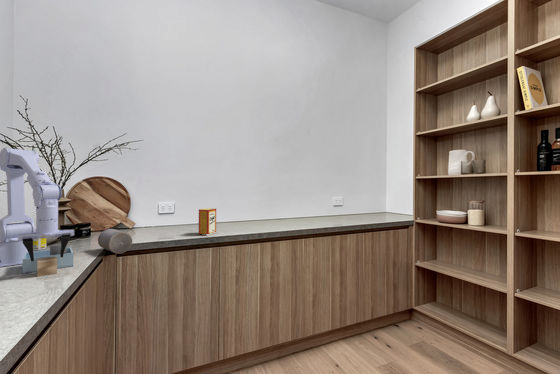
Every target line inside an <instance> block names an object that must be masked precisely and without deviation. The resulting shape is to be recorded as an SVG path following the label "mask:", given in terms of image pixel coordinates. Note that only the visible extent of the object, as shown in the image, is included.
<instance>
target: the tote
mask: <svg viewBox="0 0 560 374" xmlns="http://www.w3.org/2000/svg"><path fill="white" fill-rule="evenodd" d="M33 254H34V261H31V259H30V255H29V253H28V252H26V253H24V256H23V264H22V275H25V274H31V273H37V262H38V259H41V258H49V257H56V256H57V270H58V269H63V268H71V267H74V252H73V248H72V246H70V247H67V254H63V257H60V254H59V255H51V256H50V249H43V250H36V251H33Z"/></svg>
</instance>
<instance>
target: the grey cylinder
mask: <svg viewBox="0 0 560 374" xmlns="http://www.w3.org/2000/svg"><path fill="white" fill-rule="evenodd" d="M67 248H68V244H67V245H66V248H65V250H64V254H67ZM49 250H50V256H51V255H59V254H60V252H61V243H57V244H51V245H49Z"/></svg>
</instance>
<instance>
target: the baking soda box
mask: <svg viewBox="0 0 560 374" xmlns="http://www.w3.org/2000/svg"><path fill="white" fill-rule="evenodd" d="M213 232H216V233H217V208H209V207H206V208H204V207H203V208H199V209H198V235H199V234H210V233H213Z"/></svg>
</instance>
